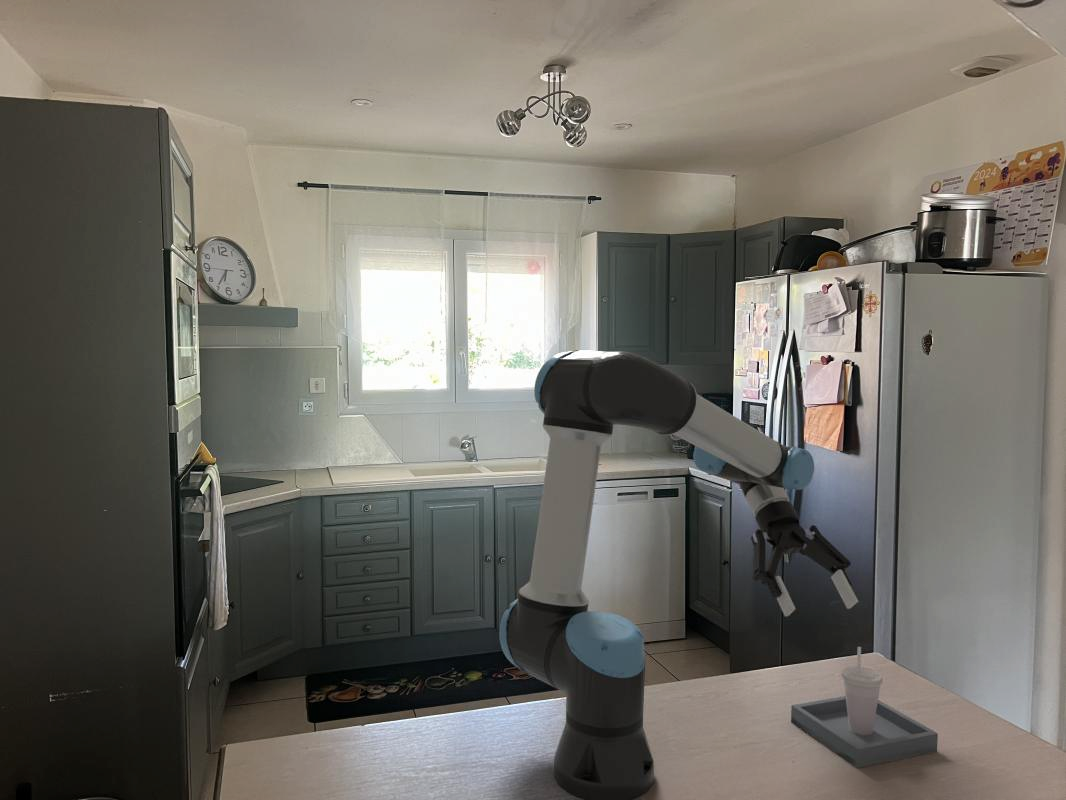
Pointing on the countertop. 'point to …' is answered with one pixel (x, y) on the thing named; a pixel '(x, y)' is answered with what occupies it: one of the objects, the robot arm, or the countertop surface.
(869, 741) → the tray
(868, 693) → the smoothie
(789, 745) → the countertop surface
